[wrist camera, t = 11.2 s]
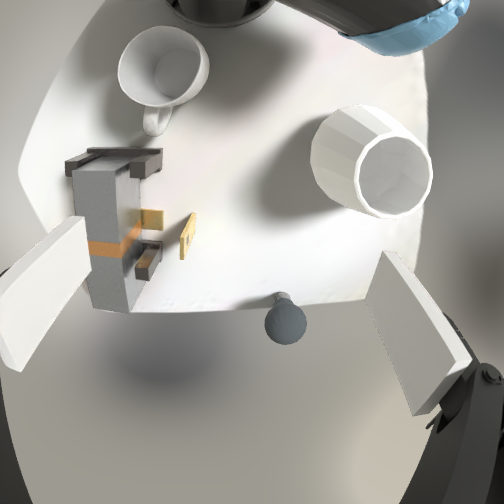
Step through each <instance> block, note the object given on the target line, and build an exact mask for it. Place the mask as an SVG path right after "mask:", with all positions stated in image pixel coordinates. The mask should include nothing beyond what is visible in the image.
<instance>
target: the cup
mask: <svg viewBox="0 0 504 504" xmlns="http://www.w3.org/2000/svg"><path fill="white" fill-rule="evenodd" d="M310 164H311V167H312V170H313V174H314V177H315V180H316V183H317V184H318V185H319V186H320V188H321V189H322V190H323V191H324V192H325V194H326V195H327V196H328V197H329V198H330V199H332V200H334V201H336V202H338V203H340V204H341V205H343V206H345V207H347V208H350V209H353V210H356V211H359V212H362V213H365V214H368V215H371V216H374V217H377V218H380V219H391V220H396V219H399V218H402V217H405V216H408V215H410V214H411V213H413V212H414V211H415V210H416V209H417V208H419V207H420V206H421V205H422V203H423V202H424V200H425V198H426V197H427V195H428V193H429V192H430V187H431V182H432V177H433V172H432V165H431V159H430V157H429V155H428V153H427V151H426V150H425V148H424V146H423V144H422V143H421V142H419V141H418V140H417V139H416V138H415V137H414V136H413V135H412V134H411V133H410V132H409V131H408V130H407V129H405V128H404V127H403V126H402V125H401V124H400V123H399V122H398V121H396V120H395V119H394V118H392V117H391V116H389V115H388V114H387V113H385V112H384V111H382V110H381V109H379V108H375V107H370V106H365V105H359V104H357V105H353V106H349V107H345V108H341V109H338V110H337V111H335V112H334V113H333V114H331V115H330V116H329V117H328V118H326V119H325V120H324V121H323V122H322V123H321V125H320V127H319V128H318V130H317V132H316V134H315V136H314V138H313V140H312V146H311V157H310Z"/></svg>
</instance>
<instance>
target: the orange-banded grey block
mask: <svg viewBox="0 0 504 504" xmlns="http://www.w3.org/2000/svg"><path fill="white" fill-rule="evenodd" d="M135 158H137V157H100V158H98V159H95V160H93V161H91V162H89V163H87V164H85V165H83V166H81V167H78V168H76V169H74V170H72V180H73V192H74V202H75V211H76V216H82V217H85V226H86V234H87V242H88V250H89V257H90V263H91V269H92V270H91V272H90V273H89V274H88V276H87V277H86V278H87V283H88V288H89V292H90V296H91V301H92V305H93V308H97V309H103V310H109V311H114V312H121V313H127V314H130V313H131V311H132V308H133V306H134V304H135V302H136V300H137V298H138V296H139V294H140V292H141V290H142V288H143V287H144V285H145V283H146V282H145V281H144V280H136V279H135V269H134V267H135V265H136V263H137V262H138V260H139V259H140V257H141V255H142V254H143V248H142V233H141V232H142V229H141V213H140V179H138V178H130V161H131V160H133V159H135Z"/></svg>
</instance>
